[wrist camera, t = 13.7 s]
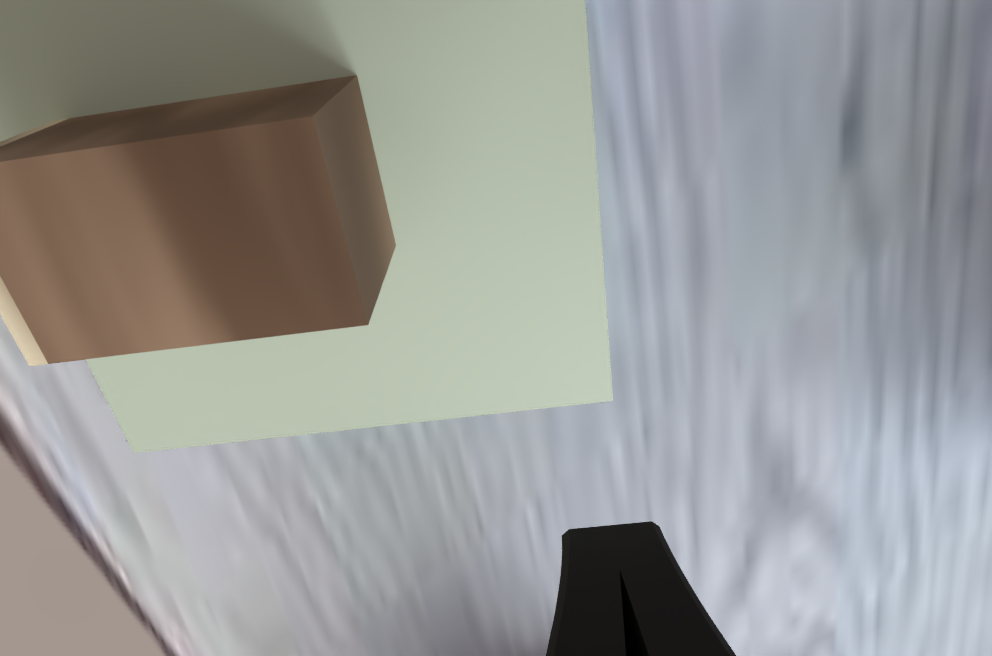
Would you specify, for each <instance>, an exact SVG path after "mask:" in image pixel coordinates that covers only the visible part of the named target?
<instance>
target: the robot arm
mask: <svg viewBox="0 0 992 656" xmlns="http://www.w3.org/2000/svg"><path fill="white" fill-rule="evenodd" d="M546 656H736V655H735V653H734V652H733V650H732V649H731V647H730V646H729V644H728V643H727V642H726V640H725V639H724V637H723V636H722V634H721V633H720V631H719V630H718V628H717V627H716V625H715V624H714V622H713V621H712V619H711V618H710V616H709V615H708V613H707V612H706V610H705V609H704V607H703V605H702V604H701V602H700V601H699V599H698V597H697V596H696V594H695V592H694V591H693V589H692V587H691V586H690V584H689V582H688V581H687V579H686V577H685V576H684V574H683V572H682V570H681V569H680V567H679V565H678V563H677V561H676V560H675V558H674V556H673V554H672V552H671V550H670V548H669V546H668V544H667V542H666V540H665V538H664V536H663V534H662V531H661V529H660V527H659V526H658V525H656V524H655V523H653V522H641V523H631V524H620V525H610V526H599V527H589V528H578V529H569V530H568V531H567V532H566V533H564V534H563V535H562V566H561V577H560V585H559V592H558V598H557V604H556V610H555V616H554V621H553V626H552V630H551V635H550V639H549V644H548V649H547V653H546Z"/></svg>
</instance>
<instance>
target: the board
mask: <svg viewBox="0 0 992 656" xmlns="http://www.w3.org/2000/svg"><path fill="white" fill-rule="evenodd" d="M355 75H357V77H358V81H359V86H360V90H361V94H362V99H363V103H364V108H365V112H366V116H367V121H368V125H369V129H370V134H371V138H372V142H373V147H374V151H375V156H376V160H377V164H378V169H379V173H380V177H381V182H382V186H383V191H384V195H385V199H386V204H387V208H388V212H389V217H390V221H391V225H392V230H393V234H394V239H395V243H396V247H395V250H394V253H393V256H392V258H391V261H390V264H389V267H388V270H387V273H386V276H385V279H384V281H383V284H382V287H381V290H380V293H379V296H378V299H377V301H376V304H375V307H374V310H373V313H372V316H371V319H370V322H369V324H368V325H365V326H357V327H348V328H340V329H332V330H324V331H316V332H307V333H299V334H291V335H283V336H274V337H266V338H258V339H250V340H241V341H233V342H225V343H217V344H208V345H200V346H192V347H184V348H175V349H167V350H159V351H151V352H142V353H134V354H126V355H118V356H109V357H101V358H93V359H86V361H87V363H88V365H89V367H90V369H91V371H92V373H93V375H94V377H95V379H96V381H97V383H98V385H99V387H100V388H101V390H102V392H103V394H104V396H105V398H106V400H107V402H108V404H109V406H110V408H111V410H112V412H113V414H114V416H115V418H116V420H117V422H118V424H119V426H120V427H121V429H122V431H123V433H124V435H125V437H126V439H127V441H128V443H129V445H130V447H131V449H132V451H133V453H139V452H148V451H157V450H166V449H175V448H185V447H194V446H203V445H212V444H221V443H230V442H240V441H249V440H258V439H267V438H276V437H285V436H295V435H304V434H313V433H322V432H331V431H340V430H350V429H359V428H368V427H377V426H386V425H396V424H405V423H414V422H423V421H432V420H441V419H451V418H460V417H469V416H478V415H487V414H496V413H506V412H515V411H524V410H533V409H542V408H551V407H561V406H570V405H579V404H588V403H597V402H606V401H613V396H612V381H611V367H610V352H609V338H608V323H607V309H606V294H605V280H604V265H603V251H602V236H601V222H600V207H599V193H598V178H597V164H596V149H595V135H594V121H593V106H592V92H591V77H590V63H589V48H588V34H587V19H586V5H585V0H0V142H1V141H3V140H6V139H8V138H11V137H13V136H16V135H18V134H21V133H23V132H26V131H28V130H31V129H33V128H36V127H38V126H41V125H43V124H46V123H48V122H51V121H54V120H61V119H68V118H75V117H81V116H88V115H95V114H101V113H108V112H115V111H121V110H128V109H135V108H141V107H148V106H155V105H161V104H168V103H175V102H181V101H188V100H195V99H201V98H208V97H215V96H221V95H228V94H235V93H242V92H248V91H255V90H262V89H268V88H275V87H282V86H288V85H295V84H302V83H308V82H315V81H322V80H328V79H335V78H342V77H348V76H355Z"/></svg>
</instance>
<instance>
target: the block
mask: <svg viewBox="0 0 992 656" xmlns="http://www.w3.org/2000/svg"><path fill="white" fill-rule="evenodd" d="M395 247H396V243H395V239H394V234H393V230H392V225H391V221H390V217H389V212H388V208H387V204H386V199H385V195H384V191H383V186H382V182H381V177H380V173H379V169H378V164H377V160H376V156H375V151H374V147H373V142H372V138H371V134H370V129H369V125H368V121H367V116H366V112H365V108H364V103H363V99H362V94H361V90H360V86H359V81H358V77H357V75H355V76H348V77H342V78H335V79H328V80H322V81H315V82H308V83H302V84H295V85H288V86H282V87H275V88H268V89H262V90H255V91H248V92H242V93H235V94H228V95H221V96H215V97H208V98H201V99H195V100H188V101H181V102H175V103H168V104H161V105H155V106H148V107H141V108H135V109H128V110H121V111H115V112H108V113H101V114H95V115H88V116H81V117H75V118H68V119H61V120H54V121H51V122H48V123H46V124H43V125H41V126H38V127H36V128H33V129H31V130H28V131H26V132H23V133H21V134H18V135H16V136H13V137H11V138H8V139H6V140H3V141H1V142H0V315H1V316H2V318H3V320H4V322H5V323H6V325H7V327H8V329H9V331H10V332H11V334H12V336H13V338H14V339H15V341H16V343H17V345H18V346H19V348H20V350H21V352H22V354H23V355H24V357H25V359H26V361H27V362H28V364H29V366H35V365H43V364H52V363H60V362H68V361H76V360H85V359H93V358H101V357H109V356H118V355H126V354H134V353H142V352H151V351H159V350H167V349H175V348H184V347H192V346H200V345H208V344H217V343H225V342H233V341H241V340H250V339H258V338H266V337H274V336H283V335H291V334H299V333H307V332H316V331H324V330H332V329H340V328H348V327H357V326H365V325H368V324H369V322H370V319H371V316H372V313H373V310H374V307H375V304H376V301H377V299H378V296H379V293H380V290H381V287H382V284H383V281H384V279H385V276H386V273H387V270H388V267H389V264H390V261H391V258H392V256H393V253H394V250H395Z"/></svg>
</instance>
